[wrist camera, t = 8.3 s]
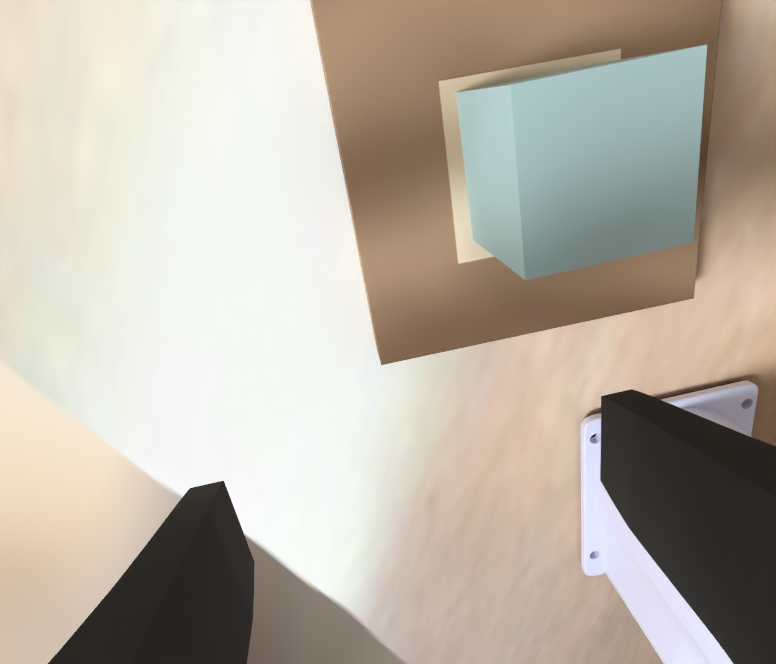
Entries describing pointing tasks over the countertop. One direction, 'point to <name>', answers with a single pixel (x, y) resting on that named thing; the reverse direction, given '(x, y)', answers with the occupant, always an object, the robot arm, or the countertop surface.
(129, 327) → the countertop surface
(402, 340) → the plate
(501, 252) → the teal cube
